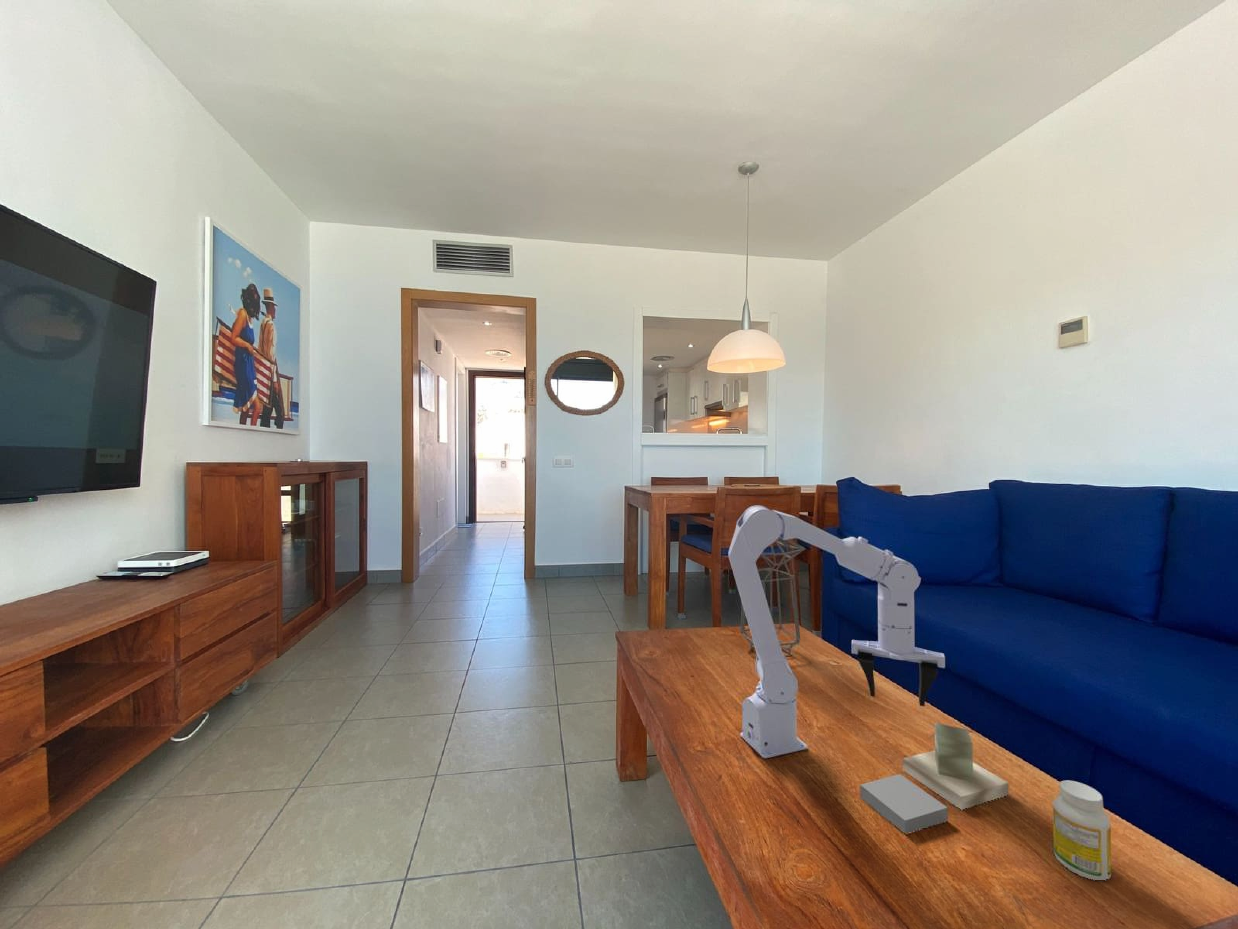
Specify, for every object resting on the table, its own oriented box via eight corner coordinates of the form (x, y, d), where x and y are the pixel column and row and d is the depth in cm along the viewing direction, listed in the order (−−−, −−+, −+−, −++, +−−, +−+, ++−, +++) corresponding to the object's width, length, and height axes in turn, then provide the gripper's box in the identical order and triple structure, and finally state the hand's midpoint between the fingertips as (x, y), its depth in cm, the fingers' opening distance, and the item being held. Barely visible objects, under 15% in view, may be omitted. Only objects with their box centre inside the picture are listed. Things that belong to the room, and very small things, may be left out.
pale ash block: (961, 810, 71) (961, 797, 71) (903, 770, 81) (902, 758, 81) (1008, 795, 74) (1008, 782, 74) (947, 758, 84) (946, 747, 84)
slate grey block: (905, 835, 67) (905, 820, 67) (860, 797, 74) (860, 784, 74) (947, 821, 69) (947, 807, 69) (900, 786, 77) (900, 774, 77)
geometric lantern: (812, 660, 127) (808, 529, 127) (759, 668, 123) (755, 533, 123) (777, 639, 143) (774, 521, 142) (730, 646, 138) (726, 525, 138)
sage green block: (938, 774, 77) (938, 736, 77) (935, 758, 81) (934, 723, 81) (973, 782, 75) (972, 743, 75) (967, 766, 79) (967, 729, 79)
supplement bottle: (1085, 885, 59) (1083, 806, 59) (1042, 850, 64) (1040, 778, 64) (1124, 881, 59) (1122, 803, 59) (1078, 846, 64) (1077, 775, 64)
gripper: (850, 624, 87) (851, 699, 87) (947, 637, 80) (947, 718, 80) (852, 613, 93) (852, 683, 93) (941, 624, 86) (942, 700, 86)
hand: (896, 698), depth 87 cm, fingers open, 7 cm apart
